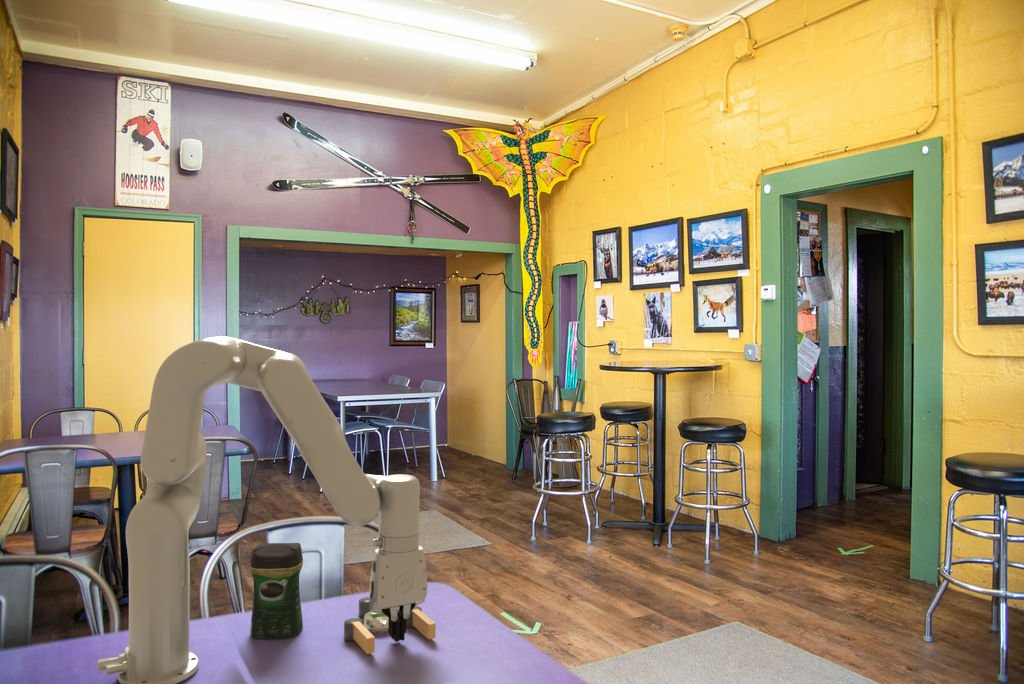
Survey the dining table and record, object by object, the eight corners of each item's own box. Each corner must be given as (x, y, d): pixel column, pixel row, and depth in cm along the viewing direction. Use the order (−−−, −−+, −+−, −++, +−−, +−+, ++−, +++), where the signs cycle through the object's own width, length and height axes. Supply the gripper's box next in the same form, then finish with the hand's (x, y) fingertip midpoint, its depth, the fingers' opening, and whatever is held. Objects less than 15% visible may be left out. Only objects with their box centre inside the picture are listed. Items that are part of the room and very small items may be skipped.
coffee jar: (306, 629, 144) (307, 537, 144) (297, 647, 136) (298, 550, 136) (256, 630, 144) (257, 537, 143) (244, 648, 136) (246, 550, 135)
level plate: (350, 663, 130) (351, 638, 130) (320, 626, 146) (320, 604, 145) (440, 641, 140) (440, 618, 140) (403, 609, 155) (403, 588, 155)
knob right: (400, 622, 145) (400, 606, 145) (416, 619, 147) (417, 602, 146) (423, 643, 135) (423, 626, 135) (440, 639, 137) (440, 622, 137)
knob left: (341, 635, 138) (341, 618, 138) (359, 631, 140) (359, 614, 140) (361, 658, 129) (361, 640, 129) (380, 654, 131) (380, 635, 131)
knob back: (362, 619, 146) (362, 603, 146) (356, 613, 149) (356, 597, 149) (411, 609, 151) (411, 593, 151) (404, 603, 154) (404, 588, 154)
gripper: (367, 553, 128) (366, 655, 128) (443, 541, 136) (441, 637, 136) (353, 542, 134) (352, 639, 135) (426, 531, 142) (424, 623, 143)
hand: (397, 638), depth 136 cm, fingers closed
